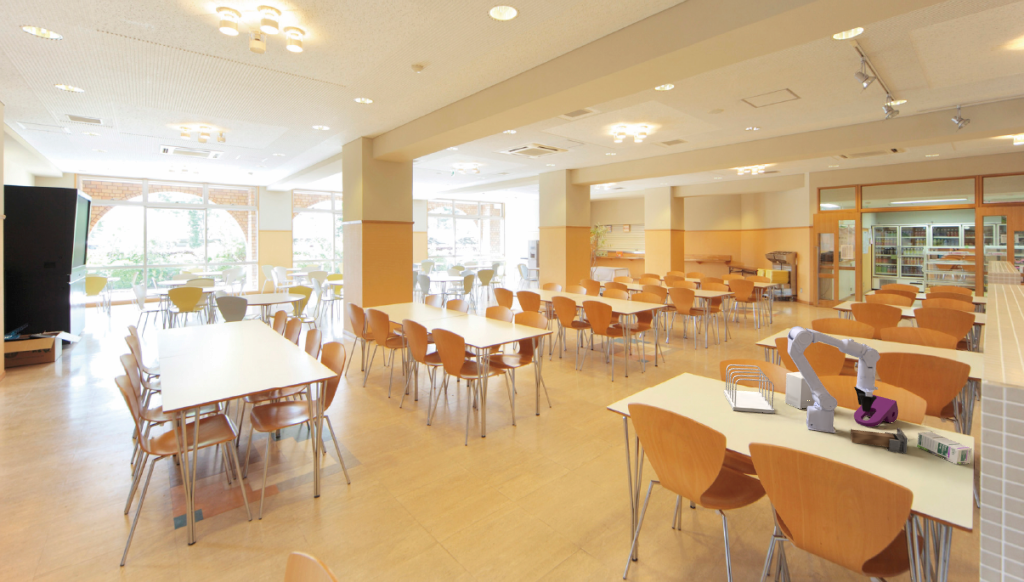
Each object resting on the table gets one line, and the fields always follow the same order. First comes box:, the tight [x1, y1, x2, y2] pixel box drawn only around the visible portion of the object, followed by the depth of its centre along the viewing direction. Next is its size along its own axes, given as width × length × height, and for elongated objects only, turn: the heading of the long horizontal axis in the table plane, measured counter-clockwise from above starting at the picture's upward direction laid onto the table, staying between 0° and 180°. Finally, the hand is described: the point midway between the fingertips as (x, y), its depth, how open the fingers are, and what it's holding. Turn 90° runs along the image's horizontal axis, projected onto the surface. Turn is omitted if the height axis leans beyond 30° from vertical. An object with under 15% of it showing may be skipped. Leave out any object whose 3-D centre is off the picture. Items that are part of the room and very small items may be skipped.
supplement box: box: [784, 371, 815, 410], centre depth 220 cm, size 9×9×15 cm
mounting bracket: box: [853, 394, 899, 428], centre depth 201 cm, size 10×8×18 cm
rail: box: [850, 428, 895, 448], centre depth 181 cm, size 13×3×4 cm, turn 63°
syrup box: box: [916, 431, 973, 465], centre depth 170 cm, size 6×6×14 cm
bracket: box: [884, 427, 909, 455], centre depth 177 cm, size 5×10×6 cm, turn 153°
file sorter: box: [723, 364, 775, 414], centre depth 225 cm, size 25×17×16 cm
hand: (863, 408), depth 191 cm, fingers open, 7 cm apart
